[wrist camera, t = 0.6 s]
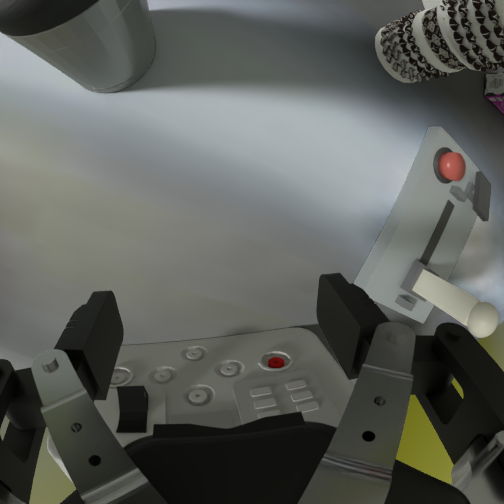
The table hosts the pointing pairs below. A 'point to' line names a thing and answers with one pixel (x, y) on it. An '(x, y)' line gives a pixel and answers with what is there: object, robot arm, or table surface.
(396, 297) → the switch console
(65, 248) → the table surface
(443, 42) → the decorative candle
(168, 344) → the rounded white slab
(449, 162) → the button
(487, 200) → the rocker
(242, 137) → the table surface
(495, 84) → the candy bar box
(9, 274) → the table surface
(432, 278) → the slide lever
